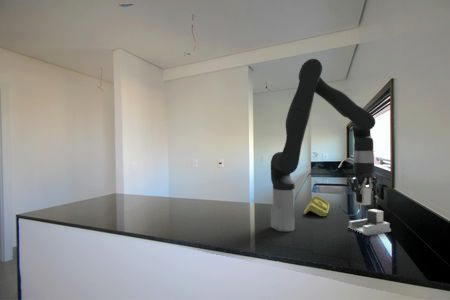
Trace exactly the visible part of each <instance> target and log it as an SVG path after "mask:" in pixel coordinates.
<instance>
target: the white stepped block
mask: <svg viewBox="0 0 450 300" xmlns="http://www.w3.org/2000/svg"><path fill="white" fill-rule="evenodd" d="M366 213H367V217H366V218H363V219H362V218H361V219H355V220H349V221H348V226H347V229H348V228H350V229H352V230H351V231H353V230H354V231H353V232H356V231H357V233H358V232H359V233H358V234H361V233H362V235H365V236H373V235H379V234H385V233H389V232H391V231H392V229H391V227H390V224H391V223H390V222H387V221H384V211H383V210H379V209H376V208H373V209H367V212H366ZM350 229H349V230H350Z"/></svg>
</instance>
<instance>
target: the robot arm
mask: <svg viewBox="0 0 450 300" xmlns="http://www.w3.org/2000/svg"><path fill="white" fill-rule="evenodd" d="M322 73H323V65H322V63H321V61H320V60H318V59H316V58H310V59H307V60H306V61H305V62H303V64H302V65H301V67H300V69H299V72H298V80H299V81H298V86H297V89H296V91H295V93H294V95H293V99H292V101H291V103H290V106H289V108H288V111H287V115H286V119H285V132H286V137H285V138H286V139H285V143H284V146H283V149H282V151H279V152H278V151H277V152H276V153H274V154H273V155H272V157H271V160H270V179H271V184H272V205H270V228H272V229H274V230H276V231H278V232H293V231H295V218H296V217H295V210H296V209H295V204H296V203H295V200H296V199H295V197H296V196H295V195H296V194H295V193H296V191H295V186H296V185H295V182H294V181H293V179H292V178H291V174H293V173H294V172H295V171H296V170H297V168H298V165H299V162H300V157H301V150H302V144H303V141H304V137H305V133H306V130H307V127H308V123H309V119H310V115H311V112H312V106H313V103H314V102H313V101H314V97H315V94H316V95H318V96H319V97H321V98H322V99H323V100H324V101H326V102H327V103H328V104H329V105H330V106H332V107H333V108H334V109H335V110H336V111H337V112H338V113H339V114H340V115H341V116H342V117H344V118H346V119H348V120H349V121H351V122H352V135H353V140H354V142H353V158H352V159H353V160H352V161H353V173H355V175H354V177H352V178H350V177H349V183H350V188H351V192H353V193H356V201H357V202H359V203H362V189H363V188H365V187H369V188H371V194H373V192H376V188H377V183H378V178H377V177H375V176H373V174H374V173H375V154H374V139H373V138H372V135H371V130H372V129H373V128H375V125H376V119H375V117H374V116H373V115H372V113H370V112H369V111H368V110H366V109H364V108H363V107H361V106H359V104H357V103H356V102H355V101H354V100H353V99H352V98H351V97H349V96H348V95H347V94H346V93H344V92H343V91H341V90H339V89H337V88H334V87H332V86H331V85H329V84H328V83H327V82H326V81H325V80H323V79H322V77H321V76H322ZM355 188H356V189H355ZM359 188H360V191H359Z"/></svg>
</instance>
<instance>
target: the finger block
mask: <svg viewBox="0 0 450 300" xmlns="http://www.w3.org/2000/svg"><path fill="white" fill-rule="evenodd" d="M354 188H355V187H354ZM355 189H356V188H355ZM359 191H360V188H359ZM354 193H355V192H354ZM354 195H355V197H354V199H355V200H354V201H355V204H356V205H357V204H358V205H360V206H369V205H372V193H371V188H369V187H365V188H363V189H362V203H359V202H357V201H356V193H355V194H354Z"/></svg>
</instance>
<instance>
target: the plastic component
mask: <svg viewBox="0 0 450 300" xmlns="http://www.w3.org/2000/svg"><path fill="white" fill-rule="evenodd" d="M329 210H330V203H329V202H328V201H326V200H325V199H323V198H321V197H320V196H317V195H314V197H313V198H312V199H311V200H310V202H308V205H307V206H306V207H305V208H304V212H302V214H303V215H307V213H309V212H312V213H314V214H316V215H317V216H319V217H321V216H326V217H327V215H328V213H329Z"/></svg>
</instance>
